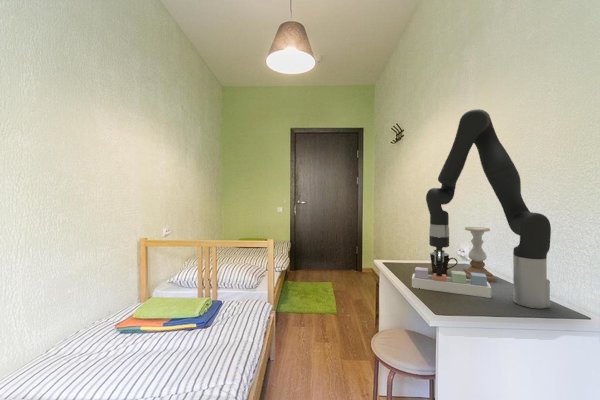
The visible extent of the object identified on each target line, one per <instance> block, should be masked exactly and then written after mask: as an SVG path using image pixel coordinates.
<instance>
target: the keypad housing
mask: <svg viewBox="0 0 600 400" xmlns="http://www.w3.org/2000/svg"><path fill="white" fill-rule="evenodd" d="M411 276H412V277H411V288H412V287H413V288H414V289H419V288H420V289H421V290H426V291H427V290H428V291H435V292H442V293H443V292H444V293H450V294H457V295H467V296H472V297H473V296H474V297H479V298H488V299H491V298H492V287H491V284H490V282H487V287H486V286H478V285H471V280H468V279H466V284H461V283H452V282H451V277H450V276H446V282H443V281H435V280H433V275H431V274H428V280H426V279H418V278H415V273H412V275H411ZM413 288H412V289H413Z"/></svg>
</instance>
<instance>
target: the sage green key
mask: <svg viewBox="0 0 600 400" xmlns="http://www.w3.org/2000/svg"><path fill="white" fill-rule="evenodd" d="M450 271H451V272H450V273H451V275H450V278H451V282H452V283H461V284H466V273H465V272H461V271H462V270H460V271H459V270H450Z"/></svg>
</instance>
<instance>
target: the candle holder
mask: <svg viewBox="0 0 600 400" xmlns="http://www.w3.org/2000/svg"><path fill="white" fill-rule="evenodd" d="M464 230H465V231H469V232H470V234H471V236H472V239H470V242H471V244H472V248H471V250H470V251H469V252H468V255H467V256H468V258H469V259H470V262H469V265H470V266H469V267H465V268H464V267H463V269H462V270H460V271H461V272H465V273H466V279H468V280H471V273H481V274H485V275H486V276H487V282H488V283H496V277H494V275H493V273H491V272H490V271H488V270H487V268H485V266H486V264H485V262H484V261H485V260H487V254H486V252H485V251H484V249H483V248H482V245H483V243H485V241H484V240H483V237H482V236H483V235H485V232H490V231H491V229H490V227H483V226H482V227H481V226H479V227H478V226H466V227H465V226H464Z"/></svg>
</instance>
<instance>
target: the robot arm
mask: <svg viewBox="0 0 600 400" xmlns="http://www.w3.org/2000/svg"><path fill="white" fill-rule="evenodd" d="M499 139H500V138H498V135H497V132H496V130H495V128H494V125H493V122H492V119H491V115H490V114H489V113H488V112H487V111H485V110H484V109H479V108H478V109H470V110H468V111H466V112H464V114H462V116H461V117H460V119H459V121H458V126H457V130H456V134H455V137H454V141H453V144H452V146H451V149H450V150H449V153H448V156H447V158H446V160H445V162H444V164H443V166H442V168H441V171H440V172H439V175H438V177H437V181H438V182H439V183H440V184H441V186H440V187H433V188H430V189H429V190H428V191H427V192H426V196H425V201H426V205H427V208H428V212H429V215H430V216H429V228H428V229H429V233H428V234H429V236H428V237H429V239H428V240H429V241H428V242H429V246H430V247H434V248H435V249H433V252H434V255H435V262H436V275H437V276H442V267H443V262H444V253H445V250H443V249H444V248H448V247H450V226H449V224H450V223H449V220H450V218H449V217H450V216H449V212H448V211H446V210H443V207H442V206H443V205H448V204H449V203H451V202H452V200H453V199H454V196H455V191H456V186H457V182H458V180H459V178H460V176H461V174H462V172H463V170H464V168H465V164H466V162H467V158H468V155H469V153H470V152H471V149H472V146H473V145H475V147H476V150H477V152H478V156H479V157H478V158H479V160H480V164H481V168H482V170H483V173H484V175H485V177H486V179H487V181H488V183H489V184H490V186H491V188H492V190H493V192H494V195H495V197H496V198H497V200H498V201H499V204H500V205H501V208H502V210H503V213H504V217H505V219H506V221H507V224H508V226H509V229H510V230H511V231H512V232H513V233H514V234H515V235H517V236H519V243H518V245H516V246H515V247H513V251H512V253H513V258H512V259H513V264H512V265H513V273H512V274H513V277H512V278H513V279H512V280H513V283H512V284H513V287H512V289H513V290H512V291H513V294H512V296H513V302H514V303H515V304H517V305H519V306H522V307H526V308H531V309H538V310H540V309H541V310H542V309H546V308H550V307H551V293H550V292H551V280H550V279H548V278H547V275H548V273H547V272H548V271H547V269H548V267H547V266H548V265H547V263H548V261H547V258H548V253H549V251H550V248H551V239H552V237H551V235H552V227H551V222H550V219H549V218H548V217H547V216H546V215H544V214H542V213H539V212H533V211H532V212H531V211H530V210H529V208H528V207H527V205H526V203H525V201H524V199H523V196H522V189H521V188H522V187H521V186H522V184H521V182H522V181H521V177H520V173H519V171H518V169H517V168H516V165H515V163H514V162H513V160H512V158H511V157H510V155H509V153H508V152H507V150H506V148H505V147H504V146H503V144H502V143H501V141H500V140H499Z"/></svg>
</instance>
